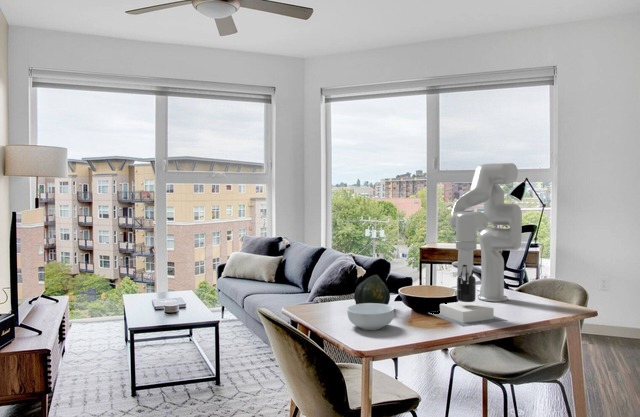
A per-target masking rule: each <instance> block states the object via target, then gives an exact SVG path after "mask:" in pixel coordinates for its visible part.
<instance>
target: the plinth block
mask: <svg viewBox="0 0 640 417" xmlns="http://www.w3.org/2000/svg"><path fill="white" fill-rule="evenodd" d="M446 303H447V304H445V303H440V304H439V311H440V315H443V316H446V317H448V318H451V319H454V320H457V321H459V322H462V323H466V322H473V321H481V320H488V319H494V316H495V315H494V314H495V313H494V308H493V307H490V306H488V305H484V304H481V303H478V302H476V301H474V302H461V301H456V302H455V301H454V302H446Z"/></svg>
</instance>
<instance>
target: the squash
mask: <svg viewBox="0 0 640 417" xmlns="http://www.w3.org/2000/svg"><path fill="white" fill-rule="evenodd" d="M389 290H390V289H388V286H387V285H386V284H385V282H384V281H383V280H382V279H381V277H380V276H379V275H378V274H373V275H371V276H368V277H366V278H365V279H364V280H363V281H361V282H360V283H359V284H358V285H357V286H356V288H355V291H354V295H353V296H354V297H353V299H354V302H355V305H356V304H363V303H378V304H386V305H389V303H390V300H391V295H390V294H391V293H390V291H389Z"/></svg>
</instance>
